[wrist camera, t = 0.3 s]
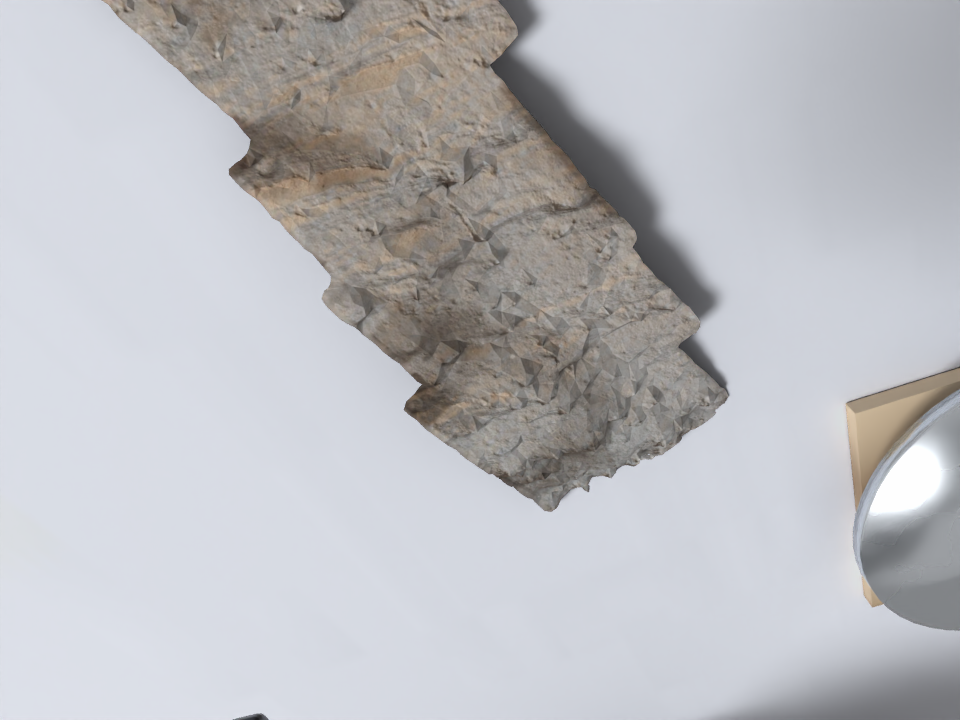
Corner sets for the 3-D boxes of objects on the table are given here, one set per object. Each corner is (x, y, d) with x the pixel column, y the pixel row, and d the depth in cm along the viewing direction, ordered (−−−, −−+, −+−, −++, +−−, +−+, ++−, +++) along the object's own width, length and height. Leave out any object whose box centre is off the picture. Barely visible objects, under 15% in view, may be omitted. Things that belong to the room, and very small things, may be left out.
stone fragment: (566, 506, 28) (807, 316, 26) (585, 565, 26) (854, 362, 23) (-201, -107, 17) (76, -554, 15) (-295, -104, 15) (16, -642, 12)
